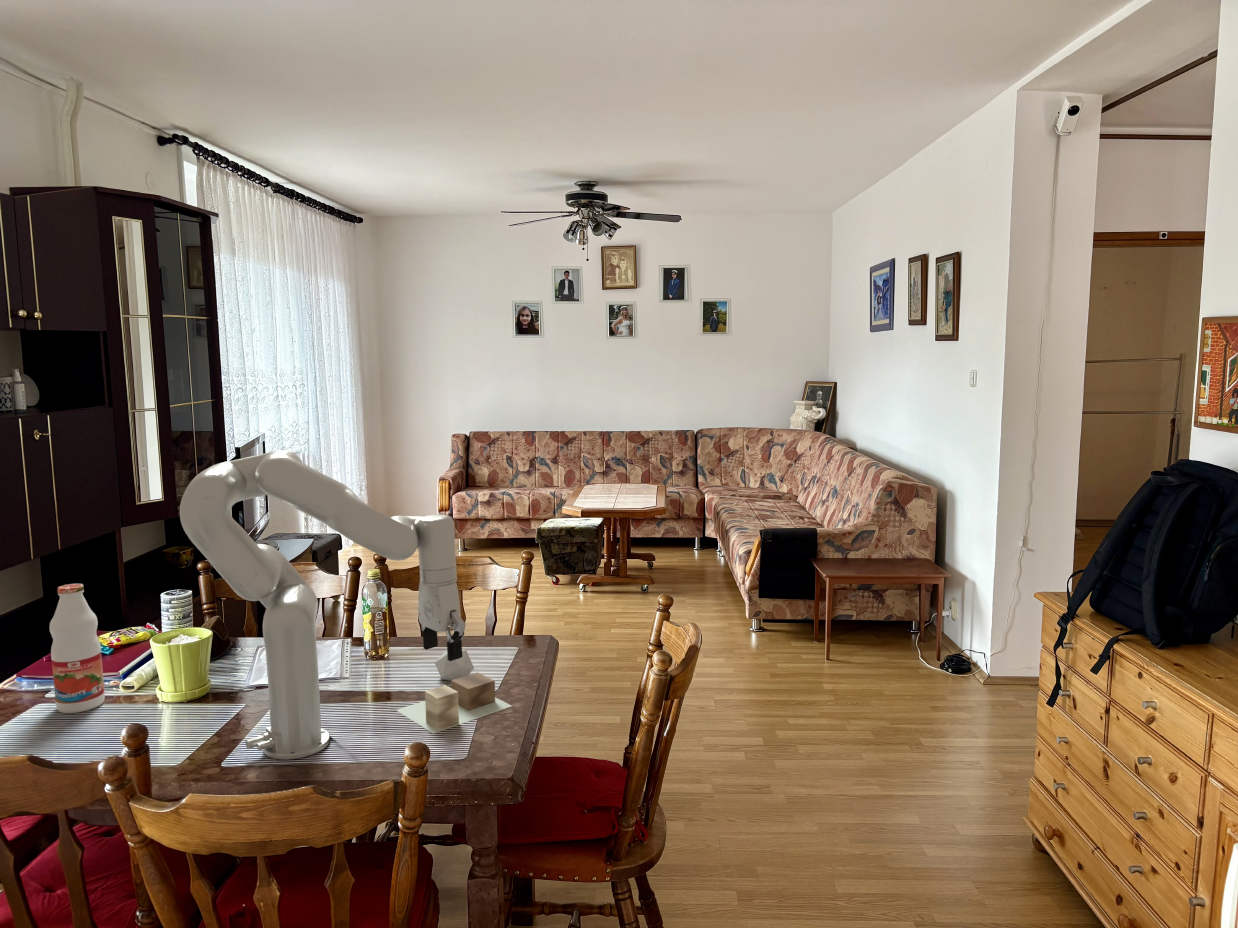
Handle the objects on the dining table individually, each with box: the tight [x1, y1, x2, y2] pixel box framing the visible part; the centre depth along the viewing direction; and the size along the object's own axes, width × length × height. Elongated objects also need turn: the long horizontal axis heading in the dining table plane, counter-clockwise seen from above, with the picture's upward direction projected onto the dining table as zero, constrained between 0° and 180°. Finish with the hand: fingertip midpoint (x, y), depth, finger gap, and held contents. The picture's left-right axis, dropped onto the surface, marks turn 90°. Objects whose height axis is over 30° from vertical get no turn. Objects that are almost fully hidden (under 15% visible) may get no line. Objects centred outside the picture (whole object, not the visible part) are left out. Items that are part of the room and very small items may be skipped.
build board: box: [395, 696, 512, 735], centre depth 184 cm, size 20×16×1 cm
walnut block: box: [450, 671, 496, 711], centre depth 187 cm, size 7×7×5 cm
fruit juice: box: [49, 583, 106, 714], centre depth 187 cm, size 9×9×28 cm
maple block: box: [424, 684, 459, 730], centre depth 176 cm, size 5×5×7 cm
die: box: [434, 648, 475, 682], centre depth 202 cm, size 8×9×10 cm
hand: (442, 653), depth 175 cm, fingers open, 9 cm apart
